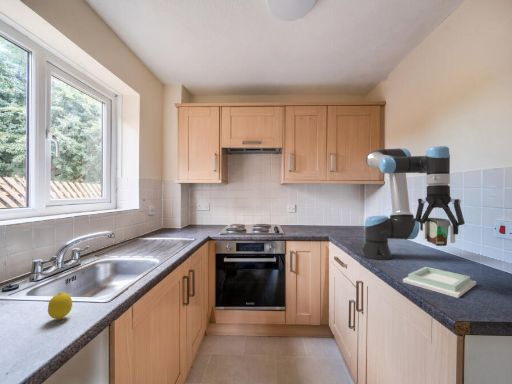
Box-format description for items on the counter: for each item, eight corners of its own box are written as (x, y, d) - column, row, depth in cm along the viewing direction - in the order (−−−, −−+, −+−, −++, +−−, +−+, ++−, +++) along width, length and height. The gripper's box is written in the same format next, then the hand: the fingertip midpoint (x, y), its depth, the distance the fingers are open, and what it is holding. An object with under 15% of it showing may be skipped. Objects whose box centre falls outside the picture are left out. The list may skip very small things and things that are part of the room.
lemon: (55, 326, 66) (55, 297, 66) (43, 322, 68) (43, 294, 68) (76, 316, 71) (76, 290, 71) (64, 313, 73) (64, 287, 73)
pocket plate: (402, 281, 97) (402, 274, 97) (424, 272, 109) (424, 265, 109) (458, 297, 82) (458, 288, 82) (476, 284, 94) (475, 276, 94)
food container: (457, 247, 89) (457, 221, 89) (437, 246, 90) (438, 220, 90) (442, 241, 100) (442, 218, 100) (425, 240, 102) (425, 217, 102)
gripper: (405, 185, 102) (405, 237, 102) (469, 183, 85) (470, 246, 85) (412, 185, 107) (413, 235, 107) (475, 184, 89) (476, 244, 89)
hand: (438, 240), depth 96 cm, fingers closed on food container, 9 cm apart
